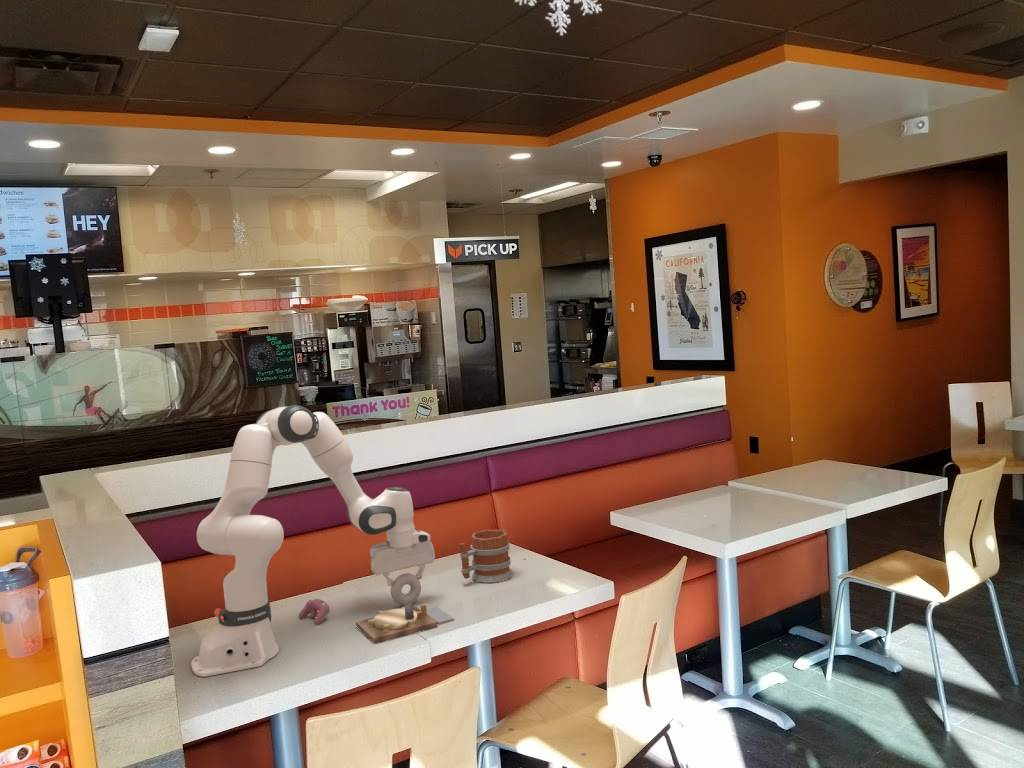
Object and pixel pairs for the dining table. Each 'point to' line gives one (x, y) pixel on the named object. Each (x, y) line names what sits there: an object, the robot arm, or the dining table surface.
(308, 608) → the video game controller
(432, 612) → the donut mat
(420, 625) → the wheel base
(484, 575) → the mug
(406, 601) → the donut
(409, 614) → the index wheel
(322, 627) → the dining table surface
